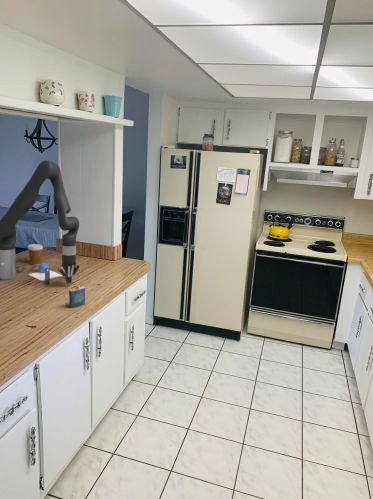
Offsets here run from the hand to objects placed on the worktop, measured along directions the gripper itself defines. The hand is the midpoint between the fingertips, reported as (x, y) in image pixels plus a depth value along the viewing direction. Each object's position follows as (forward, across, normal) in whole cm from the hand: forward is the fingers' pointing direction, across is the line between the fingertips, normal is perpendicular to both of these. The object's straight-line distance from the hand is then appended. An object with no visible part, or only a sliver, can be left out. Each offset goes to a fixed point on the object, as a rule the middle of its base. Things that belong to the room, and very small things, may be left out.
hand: (68, 282), depth 216 cm
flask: (+2, +12, +25) cm, 28 cm away
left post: (+2, +6, -11) cm, 13 cm away
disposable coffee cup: (+3, -9, -49) cm, 50 cm away
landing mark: (+2, -1, -25) cm, 25 cm away
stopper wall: (+2, -1, -39) cm, 39 cm away
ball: (-1, -3, -30) cm, 30 cm away
